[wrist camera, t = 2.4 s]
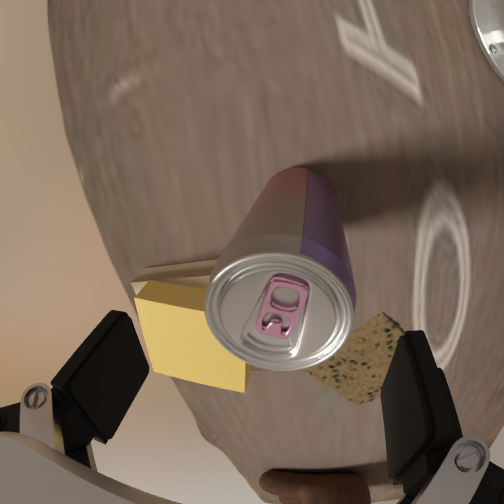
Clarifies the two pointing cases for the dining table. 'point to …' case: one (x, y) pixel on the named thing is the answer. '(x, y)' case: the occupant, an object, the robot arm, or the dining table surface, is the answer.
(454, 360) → the dining table surface
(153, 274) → the tower base
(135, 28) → the dining table surface
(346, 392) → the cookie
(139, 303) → the tower top
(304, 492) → the stuffed bear
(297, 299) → the beverage can
